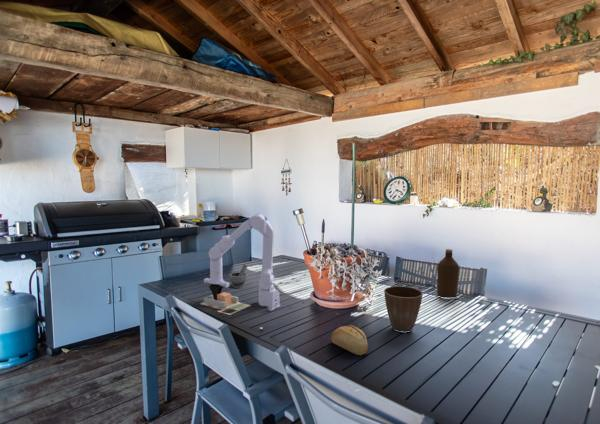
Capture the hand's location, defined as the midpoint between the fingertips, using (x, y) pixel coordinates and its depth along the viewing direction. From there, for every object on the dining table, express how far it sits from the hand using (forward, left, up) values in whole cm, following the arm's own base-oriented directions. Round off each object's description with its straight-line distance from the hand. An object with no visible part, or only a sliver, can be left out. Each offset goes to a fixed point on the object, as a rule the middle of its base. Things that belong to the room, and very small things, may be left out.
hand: (216, 299), depth 177 cm
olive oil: (-91, -74, -3) cm, 118 cm away
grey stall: (-3, 0, -1) cm, 3 cm away
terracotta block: (-5, 0, -1) cm, 5 cm away
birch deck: (-6, +2, -3) cm, 7 cm away
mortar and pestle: (+11, -29, -3) cm, 31 cm away
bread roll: (-72, +8, -3) cm, 73 cm away
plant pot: (-83, -19, -3) cm, 86 cm away
